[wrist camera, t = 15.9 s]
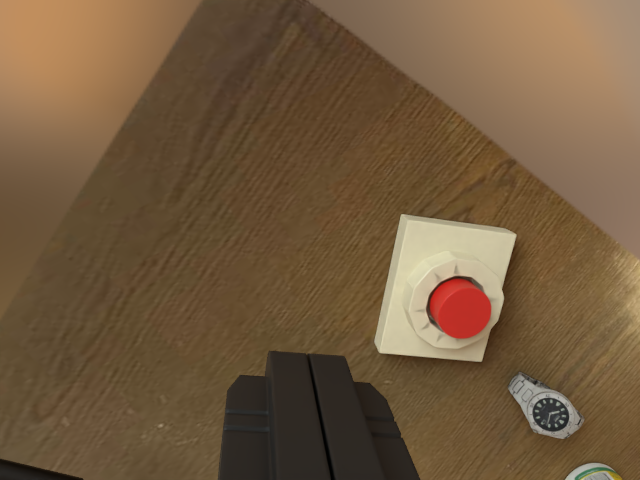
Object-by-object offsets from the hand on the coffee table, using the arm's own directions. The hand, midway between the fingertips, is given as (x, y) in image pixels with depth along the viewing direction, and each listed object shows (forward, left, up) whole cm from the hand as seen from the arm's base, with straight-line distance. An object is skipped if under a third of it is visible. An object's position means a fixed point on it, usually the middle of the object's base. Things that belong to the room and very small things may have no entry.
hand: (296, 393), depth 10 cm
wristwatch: (+14, +23, -24) cm, 36 cm away
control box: (+6, +13, -24) cm, 28 cm away
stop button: (+6, +13, -21) cm, 26 cm away
